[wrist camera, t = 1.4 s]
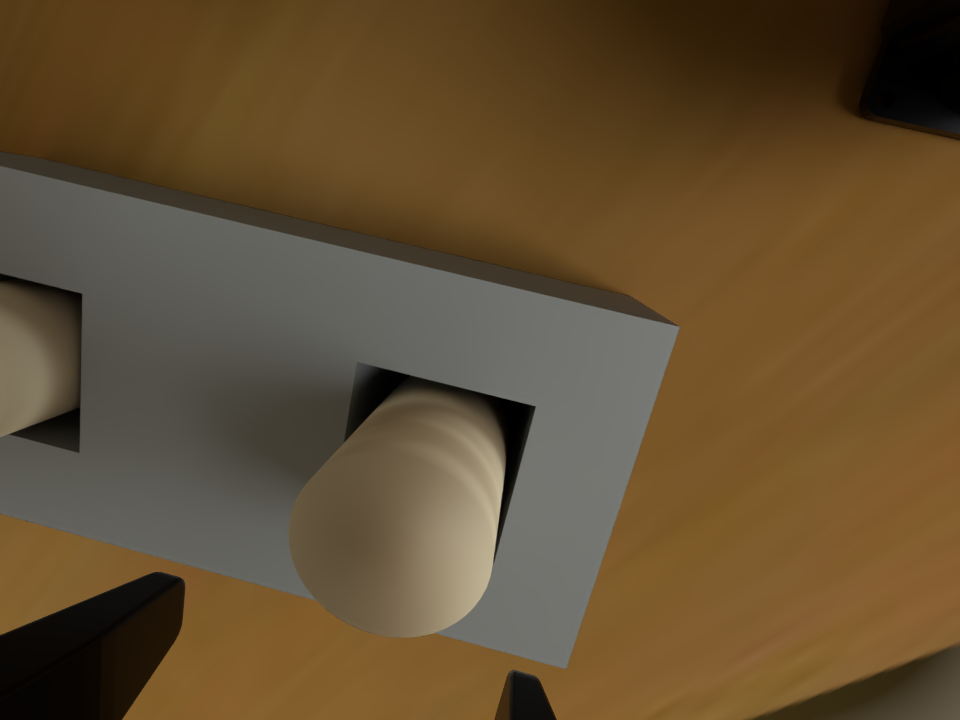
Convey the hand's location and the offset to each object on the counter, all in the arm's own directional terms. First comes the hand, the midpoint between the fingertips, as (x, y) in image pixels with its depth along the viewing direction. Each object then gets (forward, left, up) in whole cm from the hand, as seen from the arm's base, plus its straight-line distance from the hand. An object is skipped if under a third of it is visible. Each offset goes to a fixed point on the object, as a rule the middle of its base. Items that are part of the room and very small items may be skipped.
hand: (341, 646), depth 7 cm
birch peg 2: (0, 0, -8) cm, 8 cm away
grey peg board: (+6, 0, -12) cm, 13 cm away
